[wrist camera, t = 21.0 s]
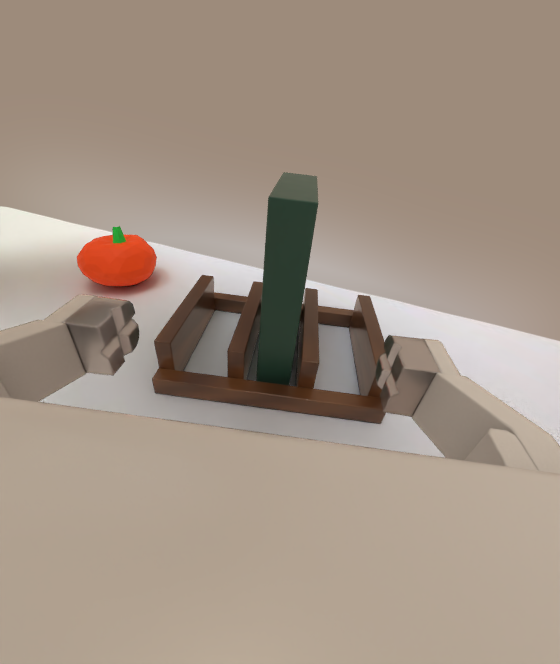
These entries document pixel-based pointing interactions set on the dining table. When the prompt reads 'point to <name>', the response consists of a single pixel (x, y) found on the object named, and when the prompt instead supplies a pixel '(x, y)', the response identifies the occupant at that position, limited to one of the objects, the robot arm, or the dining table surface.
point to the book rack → (235, 388)
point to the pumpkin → (117, 259)
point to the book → (285, 273)
